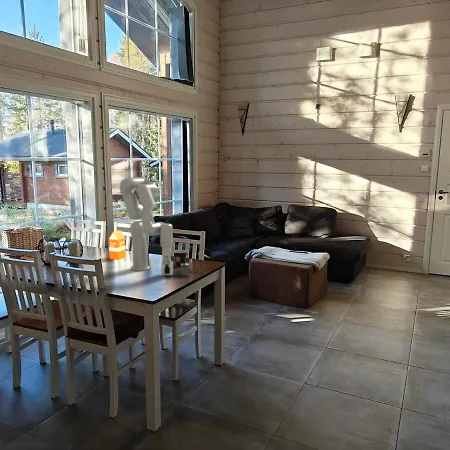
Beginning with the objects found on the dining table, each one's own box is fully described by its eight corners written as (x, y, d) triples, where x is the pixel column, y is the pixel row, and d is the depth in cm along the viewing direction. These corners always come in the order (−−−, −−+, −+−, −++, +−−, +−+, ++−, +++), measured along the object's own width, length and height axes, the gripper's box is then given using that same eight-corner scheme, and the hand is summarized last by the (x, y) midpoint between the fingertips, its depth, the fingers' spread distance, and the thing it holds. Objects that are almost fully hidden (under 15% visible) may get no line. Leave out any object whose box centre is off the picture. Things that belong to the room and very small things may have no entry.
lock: (162, 272, 256) (161, 260, 255) (173, 272, 257) (173, 260, 255) (161, 275, 250) (161, 262, 249) (173, 274, 251) (172, 262, 249)
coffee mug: (171, 265, 276) (170, 251, 274) (180, 263, 282) (180, 249, 280) (182, 268, 268) (182, 254, 266) (192, 266, 274) (192, 251, 273)
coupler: (166, 273, 257) (166, 262, 256) (189, 273, 258) (188, 262, 257) (166, 276, 250) (165, 265, 249) (189, 276, 251) (188, 265, 250)
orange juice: (109, 258, 295) (108, 231, 292) (117, 256, 303) (116, 229, 300) (118, 259, 292) (117, 232, 289) (125, 257, 300) (124, 230, 297)
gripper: (161, 241, 259) (162, 268, 261) (159, 247, 242) (160, 276, 244) (173, 240, 259) (174, 268, 262) (172, 246, 242) (172, 276, 245)
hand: (167, 271), depth 253 cm, fingers closed on lock, 6 cm apart
